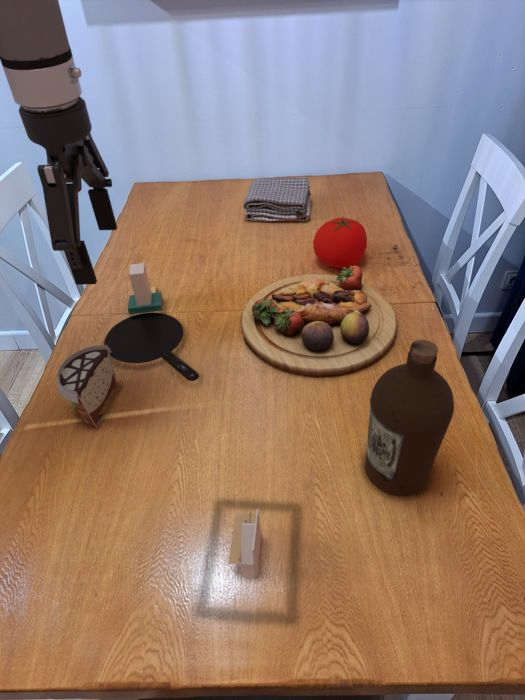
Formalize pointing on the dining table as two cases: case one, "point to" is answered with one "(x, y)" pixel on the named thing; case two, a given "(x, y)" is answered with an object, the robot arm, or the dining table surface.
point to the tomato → (340, 242)
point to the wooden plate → (319, 323)
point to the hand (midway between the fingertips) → (98, 254)
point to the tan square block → (153, 289)
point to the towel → (278, 200)
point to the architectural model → (246, 544)
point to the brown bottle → (407, 422)
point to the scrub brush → (142, 292)
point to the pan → (148, 341)
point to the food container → (87, 381)
